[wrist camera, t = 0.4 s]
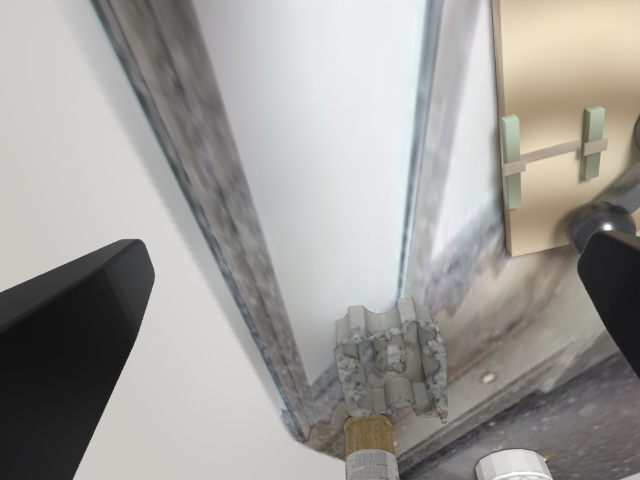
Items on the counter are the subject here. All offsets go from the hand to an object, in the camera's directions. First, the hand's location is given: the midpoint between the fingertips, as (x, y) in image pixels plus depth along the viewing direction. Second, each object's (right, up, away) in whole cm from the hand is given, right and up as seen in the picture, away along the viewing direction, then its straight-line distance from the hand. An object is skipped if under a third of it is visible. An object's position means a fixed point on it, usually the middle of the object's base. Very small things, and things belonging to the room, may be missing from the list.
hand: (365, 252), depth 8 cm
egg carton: (+4, -8, +23) cm, 25 cm away
